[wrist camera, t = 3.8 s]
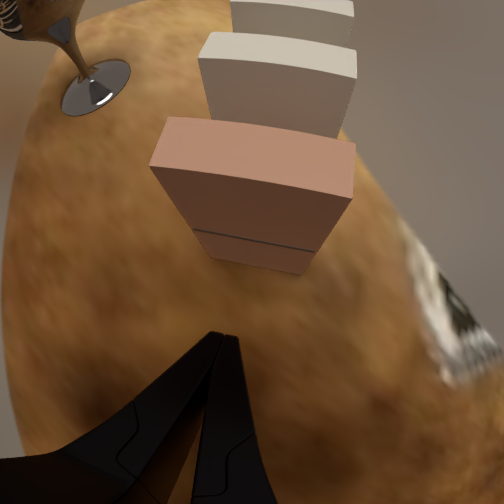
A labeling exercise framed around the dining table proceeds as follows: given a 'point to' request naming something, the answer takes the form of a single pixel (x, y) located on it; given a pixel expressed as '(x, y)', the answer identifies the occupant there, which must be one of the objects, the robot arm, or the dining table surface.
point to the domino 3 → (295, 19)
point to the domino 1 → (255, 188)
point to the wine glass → (65, 50)
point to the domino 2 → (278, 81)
